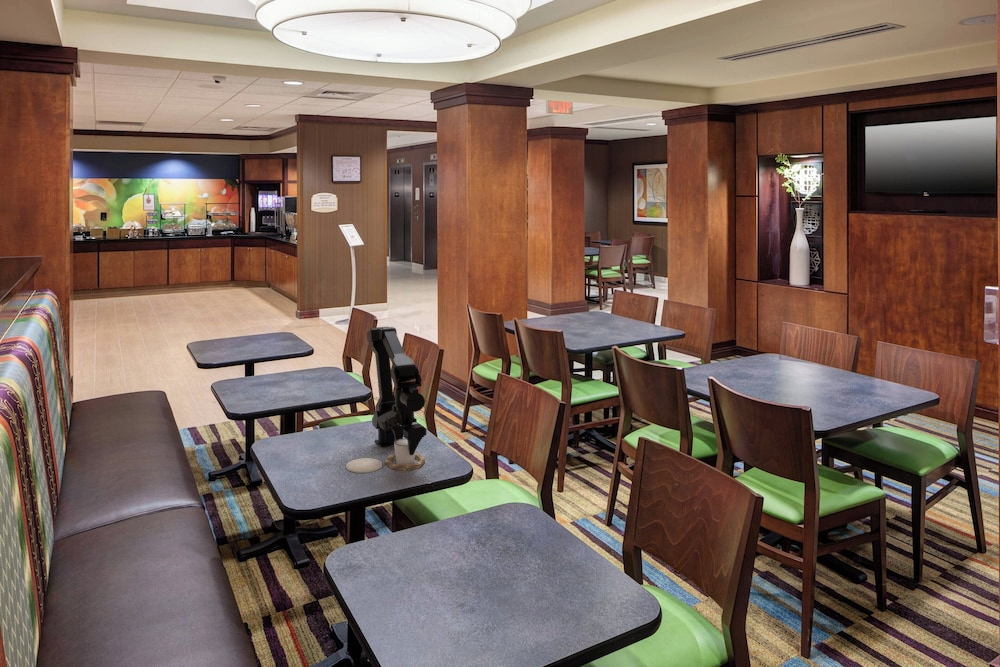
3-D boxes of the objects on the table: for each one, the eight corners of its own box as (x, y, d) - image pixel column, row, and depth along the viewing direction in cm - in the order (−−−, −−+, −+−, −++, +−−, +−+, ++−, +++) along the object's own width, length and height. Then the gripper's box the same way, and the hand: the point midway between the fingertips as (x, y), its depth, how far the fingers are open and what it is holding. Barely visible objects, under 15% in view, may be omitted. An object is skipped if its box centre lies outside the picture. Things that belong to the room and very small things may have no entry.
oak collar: (381, 460, 227) (381, 456, 226) (413, 453, 233) (413, 450, 232) (396, 472, 217) (395, 469, 217) (429, 465, 223) (429, 461, 223)
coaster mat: (340, 463, 224) (340, 462, 224) (374, 456, 229) (374, 455, 229) (353, 475, 215) (353, 474, 214) (388, 468, 220) (387, 467, 220)
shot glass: (418, 459, 228) (418, 438, 227) (413, 467, 221) (413, 446, 220) (397, 458, 229) (396, 437, 227) (391, 466, 222) (391, 445, 221)
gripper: (368, 398, 224) (369, 445, 228) (392, 414, 209) (393, 465, 212) (401, 393, 230) (401, 439, 234) (427, 409, 215) (427, 458, 218)
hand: (405, 450), depth 224 cm, fingers open, 9 cm apart
